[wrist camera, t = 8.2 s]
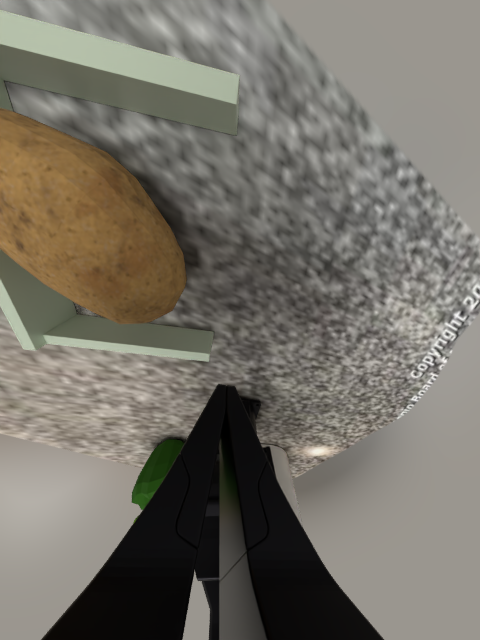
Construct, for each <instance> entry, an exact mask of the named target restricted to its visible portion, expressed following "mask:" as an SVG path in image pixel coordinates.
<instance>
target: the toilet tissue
mask: <svg viewBox="0 0 480 640" xmlns="http://www.w3.org/2000/svg"><path fill="white" fill-rule="evenodd" d="M261 445H262V447H266V446H270V449H271V454H272V459H273V464H274V469H275V474H276V478H277V480H278V482H279V484H280V487H281V489H282V490H283V492H284V494H285V496H286V498H287V500H288V502H289V504H290V506H291V507H292V509H293V511H294V513H295V514H296V516H297V518H298V520H299V522H300V523H301V525H302V520H301V516H300V512H299V507H298V502H297V498H296V493H295V489H294V484H293V479H292V475H291V469H290V465H289V460H288V457H287V453H286V452H285V451H284V450H283V449H282V448H280V447H277V446H274V445H265V444H261ZM302 527H303V525H302Z"/></svg>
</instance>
